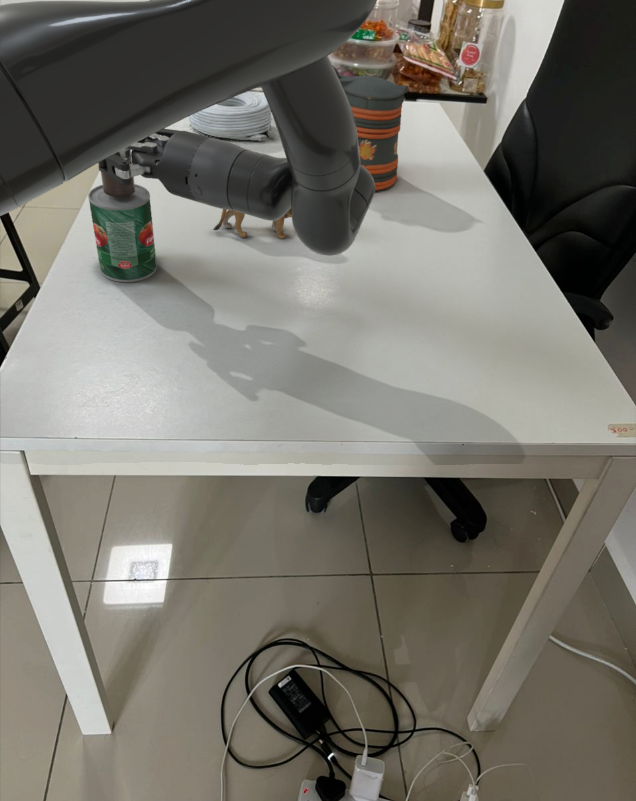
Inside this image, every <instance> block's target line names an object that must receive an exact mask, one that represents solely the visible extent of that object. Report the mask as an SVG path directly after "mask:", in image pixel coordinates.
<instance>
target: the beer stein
mask: <svg viewBox="0 0 636 801" xmlns="http://www.w3.org/2000/svg"><path fill="white" fill-rule="evenodd" d="M332 66H333V68H334V70H335V72H336V74H337V76H338V78H339V80H340V83H341V85H342V87H343V89H344V92H345V94H346V96H347V99H348V101H349V104H350V106H351V109H352V112H353V115H354V120H355V124H356V129H357V136H358V144H359V153H360V164H361V165H362V166H364V167H365V168H366V169H367V170H368V171H369V172H370V174H371V175H372V177H373V179H374V182H375V192H379V191H384V190H387V189H389V188H391V187H393V185H394V184H395V183H396V181H397V180H398V168H399V165H398V164H399V154H398V145H399V133H400V131H401V125H402V108H403V103H404V101H405V94H407V93H408V90H409V85H407V84H403V85H398V84H396V83H395V82H392V81H391V80H387V79H384V78H382V77H378V76H373V75H357V76H356V75H355V76H349V75H345V74H340V73H339V71H338V69H337V68H336V67H335V66H334V64H332Z"/></svg>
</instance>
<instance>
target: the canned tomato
mask: <svg viewBox="0 0 636 801" xmlns="http://www.w3.org/2000/svg"><path fill="white" fill-rule="evenodd" d="M134 184H135V192H134V193H133V194H131V195H129V196H124V197H113V196H109V195H107V194H105V193H104V190H103V184H100V185H98V186H95V187H94V188H92V189H91V190H90V191H89V192H88V194H87V199H88V202H89V208H90V209H89V210H90V215H91V221H92V227H93V233H94V239H95V246H96V251H97V256H98V257H97V258H98V263H99V271H100V273H101V274H102V276H103V277H104V278H106V279H108V280H111V281H114V282H118V283H135V282H136V283H137V282H140V281H144V280H146V279H149V278H150V277H151V276H153V275H154V274H155V273H156V271H157V268H158V264H157V258H156V257H157V256H156V248H155V247H156V245H155V237H154V236H155V235H154V227H153V225H154V224H153V215H152V206H151V193H150V191H149V190H148V189H147V188H146V187H145V186H142V185H139V184H136V183H134Z"/></svg>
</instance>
